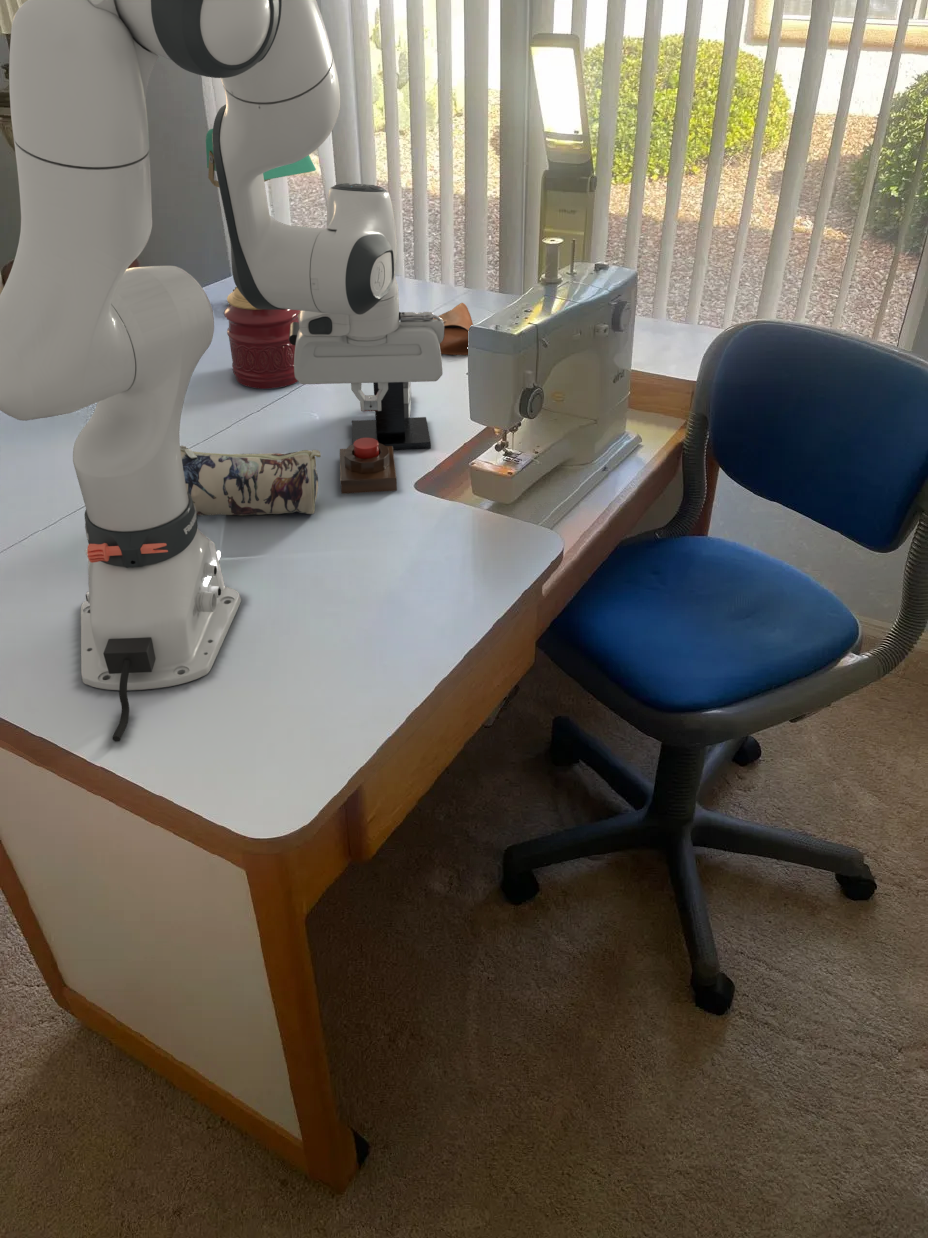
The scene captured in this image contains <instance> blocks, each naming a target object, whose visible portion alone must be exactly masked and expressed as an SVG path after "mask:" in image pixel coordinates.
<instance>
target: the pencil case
mask: <svg viewBox="0 0 928 1238" xmlns="http://www.w3.org/2000/svg"><path fill="white" fill-rule="evenodd" d="M180 450H181V458H182V465H183V471H184V477H185V483H186V488H187V492H188V493H189V494H190V495H191V497H192V500H193V503H194V506H195V508H196V513H197V514H196V515H197V516H217V515H220V516H221V515H222V516H253V515H257V516H261V515H272V514H273V515H281V514H293V513H295V512H297V513H300V514H304V515H314V514H315V511H316V510H315V509H316V501H317V499H318V498H317V497H318V491H319V475H318V472H317V462H316V461H317V460H316V457H317V458H321V455H322V453H321V452H320V451H319V450H317V449H312V450H310V449H304V450H299V451H293V452H287V453H277V452H276V453H275V452H274V453H273V452H272V453H270V452H269V453H216V452H215V453H214V452H202V451H194V450H192V449H190V448H189V447H187V446H186V445H182V444H181V445H180Z"/></svg>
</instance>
